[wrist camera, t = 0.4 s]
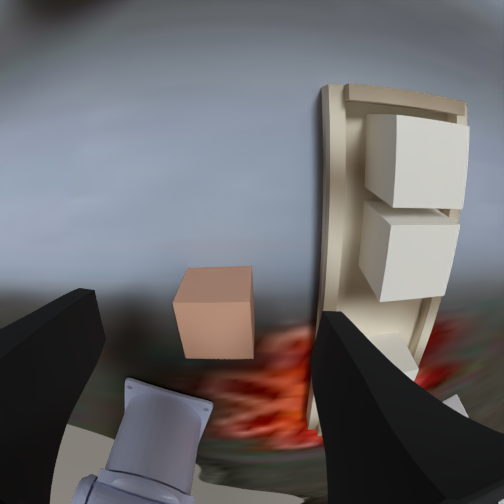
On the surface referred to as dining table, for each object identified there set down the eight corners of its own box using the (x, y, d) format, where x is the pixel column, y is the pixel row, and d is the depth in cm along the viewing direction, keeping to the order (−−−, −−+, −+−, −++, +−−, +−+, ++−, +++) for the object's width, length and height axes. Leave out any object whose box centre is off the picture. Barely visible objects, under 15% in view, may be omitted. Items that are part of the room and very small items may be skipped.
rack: (390, 403, 25) (397, 423, 22) (306, 414, 25) (308, 436, 23) (450, 103, 14) (474, 104, 12) (321, 87, 14) (332, 82, 12)
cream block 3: (387, 369, 22) (402, 406, 18) (340, 375, 22) (350, 415, 18) (399, 331, 20) (418, 369, 16) (348, 337, 20) (361, 378, 16)
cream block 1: (425, 188, 16) (462, 209, 12) (364, 186, 16) (392, 207, 12) (428, 121, 14) (469, 126, 10) (365, 114, 14) (396, 114, 10)
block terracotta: (254, 317, 21) (253, 358, 17) (196, 318, 21) (185, 358, 17) (251, 265, 19) (249, 301, 15) (188, 267, 19) (172, 302, 15)
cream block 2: (415, 262, 18) (444, 295, 14) (358, 265, 18) (379, 302, 14) (424, 201, 16) (460, 224, 12) (363, 200, 16) (390, 225, 12)
